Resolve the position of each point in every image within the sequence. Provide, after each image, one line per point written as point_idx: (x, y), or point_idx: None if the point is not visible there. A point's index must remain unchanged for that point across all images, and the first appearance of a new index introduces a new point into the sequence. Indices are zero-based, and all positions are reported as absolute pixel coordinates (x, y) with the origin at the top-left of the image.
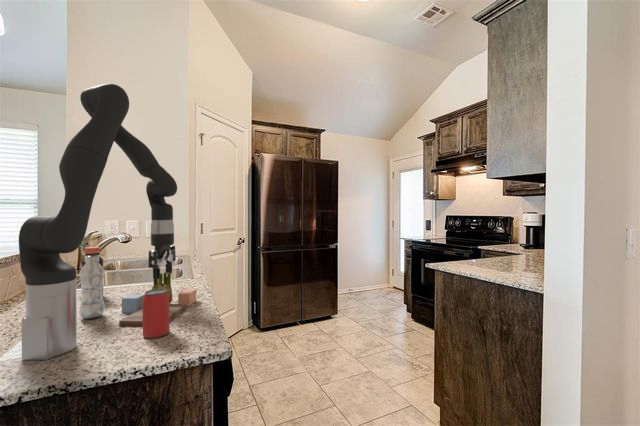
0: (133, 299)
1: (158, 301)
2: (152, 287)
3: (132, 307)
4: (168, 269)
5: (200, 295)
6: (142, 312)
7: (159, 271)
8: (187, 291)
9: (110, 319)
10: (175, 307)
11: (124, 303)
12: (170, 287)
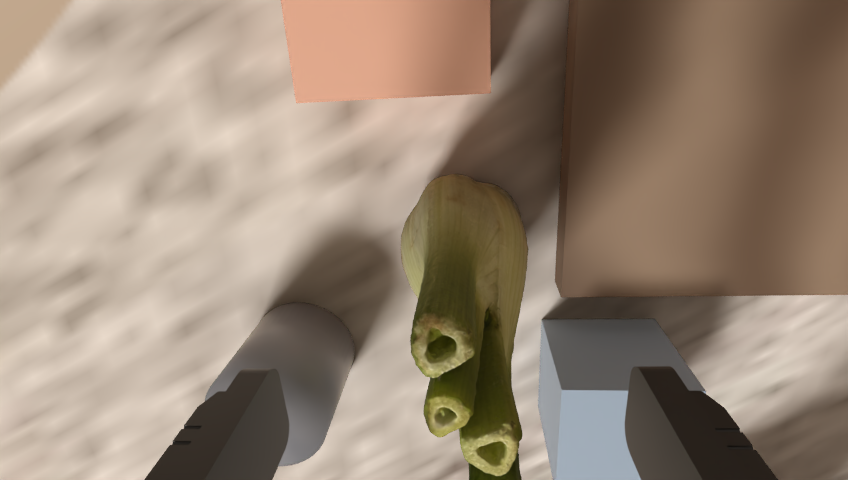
0: None
1: None
2: (321, 444)
3: None
4: (254, 454)
5: (143, 30)
6: (800, 235)
7: (721, 456)
8: (382, 27)
9: (777, 400)
10: (692, 1)
11: None
12: (453, 223)
